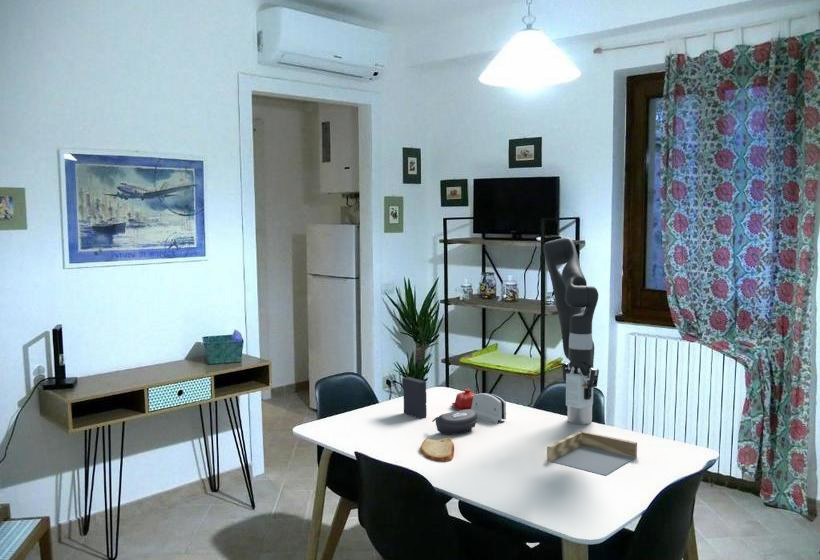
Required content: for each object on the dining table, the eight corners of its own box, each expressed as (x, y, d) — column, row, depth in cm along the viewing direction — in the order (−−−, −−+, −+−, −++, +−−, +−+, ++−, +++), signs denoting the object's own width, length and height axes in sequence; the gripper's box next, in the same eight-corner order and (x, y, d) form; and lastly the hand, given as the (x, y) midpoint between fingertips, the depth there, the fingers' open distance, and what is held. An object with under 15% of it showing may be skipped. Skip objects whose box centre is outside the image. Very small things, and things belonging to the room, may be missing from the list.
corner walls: (580, 444, 241) (580, 430, 240) (636, 457, 227) (637, 442, 227) (546, 461, 224) (547, 446, 224) (605, 476, 210) (606, 460, 210)
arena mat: (582, 446, 239) (582, 445, 239) (634, 458, 226) (634, 457, 226) (551, 462, 223) (551, 461, 223) (605, 476, 210) (605, 475, 210)
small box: (579, 401, 231) (579, 370, 230) (593, 404, 227) (594, 373, 226) (565, 405, 225) (565, 373, 225) (579, 408, 221) (580, 376, 221)
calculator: (427, 417, 275) (427, 381, 274) (419, 419, 273) (419, 382, 272) (410, 412, 284) (410, 376, 283) (402, 414, 281) (402, 377, 280)
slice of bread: (444, 466, 222) (444, 454, 221) (403, 454, 234) (403, 443, 233) (477, 452, 235) (477, 441, 235) (437, 441, 247) (437, 431, 247)
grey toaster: (468, 414, 280) (470, 390, 279) (476, 414, 282) (478, 389, 282) (497, 424, 266) (499, 398, 266) (506, 423, 269) (508, 397, 269)
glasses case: (445, 440, 247) (445, 418, 247) (428, 433, 256) (428, 412, 255) (483, 431, 257) (483, 410, 257) (465, 424, 266) (465, 404, 266)
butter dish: (484, 411, 285) (484, 391, 284) (457, 413, 283) (457, 392, 282) (476, 404, 296) (476, 384, 296) (450, 406, 294) (450, 386, 293)
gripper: (556, 344, 229) (555, 394, 230) (589, 350, 217) (588, 403, 218) (572, 342, 233) (571, 391, 234) (605, 348, 221) (604, 400, 222)
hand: (579, 397), depth 226 cm, fingers closed on small box, 6 cm apart
